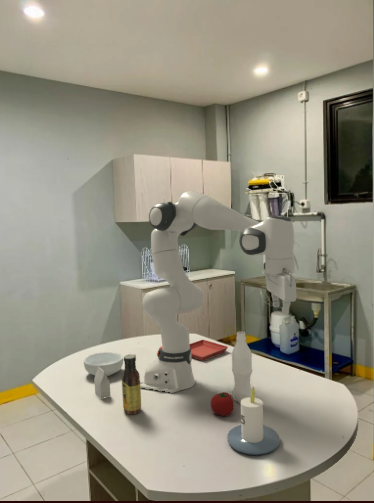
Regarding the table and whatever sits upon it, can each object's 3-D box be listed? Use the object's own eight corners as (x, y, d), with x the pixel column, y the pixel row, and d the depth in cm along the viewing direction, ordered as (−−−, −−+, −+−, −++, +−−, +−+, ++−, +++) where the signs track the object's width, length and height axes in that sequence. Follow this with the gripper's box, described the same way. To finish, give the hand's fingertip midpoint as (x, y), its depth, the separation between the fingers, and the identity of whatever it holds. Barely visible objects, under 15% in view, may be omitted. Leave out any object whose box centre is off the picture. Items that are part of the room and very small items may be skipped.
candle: (236, 435, 119) (235, 386, 118) (254, 428, 122) (253, 381, 121) (249, 445, 114) (248, 394, 112) (267, 438, 117) (266, 388, 116)
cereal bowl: (111, 383, 164) (110, 366, 164) (76, 379, 170) (75, 363, 169) (130, 368, 180) (129, 352, 180) (98, 365, 186) (97, 350, 185)
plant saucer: (202, 363, 184) (202, 356, 183) (176, 354, 197) (176, 348, 197) (229, 353, 196) (229, 346, 195) (202, 345, 209) (202, 339, 209)
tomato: (233, 419, 132) (233, 398, 131) (209, 418, 133) (208, 397, 132) (235, 408, 139) (234, 387, 139) (212, 407, 141) (211, 387, 140)
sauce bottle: (124, 407, 143) (121, 353, 141) (141, 406, 143) (139, 351, 142) (122, 416, 136) (119, 359, 135) (141, 415, 137) (138, 358, 135)
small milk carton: (101, 399, 150) (99, 373, 149) (95, 393, 156) (93, 368, 155) (110, 396, 152) (109, 371, 151) (104, 390, 158) (102, 365, 157)
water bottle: (254, 397, 147) (252, 330, 145) (251, 406, 140) (249, 336, 138) (235, 395, 149) (233, 329, 147) (230, 404, 142) (228, 334, 140)
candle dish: (224, 454, 113) (224, 449, 112) (230, 426, 127) (230, 422, 127) (279, 459, 109) (279, 453, 109) (279, 430, 124) (279, 425, 124)
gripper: (301, 270, 117) (302, 317, 118) (280, 262, 137) (280, 302, 139) (280, 271, 117) (281, 318, 118) (261, 263, 137) (262, 303, 138)
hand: (280, 309), depth 128 cm, fingers open, 8 cm apart
